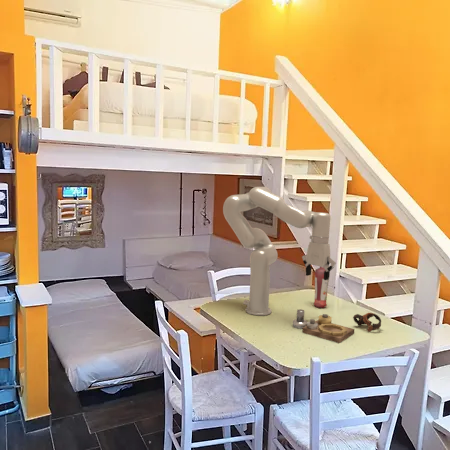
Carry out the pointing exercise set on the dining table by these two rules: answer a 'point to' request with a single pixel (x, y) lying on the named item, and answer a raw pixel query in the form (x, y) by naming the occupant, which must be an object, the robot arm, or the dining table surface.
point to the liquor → (320, 288)
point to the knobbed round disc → (299, 320)
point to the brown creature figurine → (367, 321)
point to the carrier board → (327, 329)
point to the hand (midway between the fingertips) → (317, 277)
